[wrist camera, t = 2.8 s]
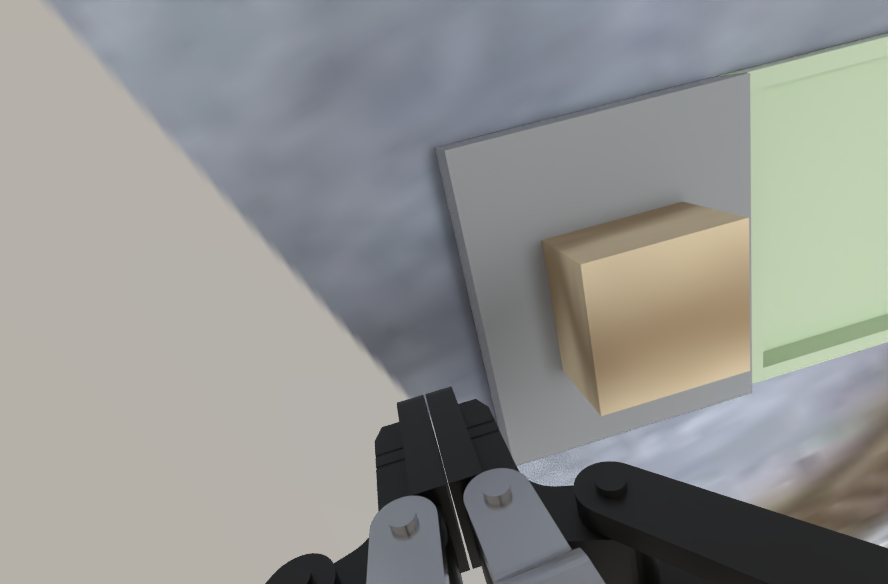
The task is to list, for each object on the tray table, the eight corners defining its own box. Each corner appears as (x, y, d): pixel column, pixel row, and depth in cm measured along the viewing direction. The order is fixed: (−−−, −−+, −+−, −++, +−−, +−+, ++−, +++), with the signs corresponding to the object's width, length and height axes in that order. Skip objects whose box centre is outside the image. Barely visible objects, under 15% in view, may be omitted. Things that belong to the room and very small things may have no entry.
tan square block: (541, 240, 16) (580, 264, 13) (682, 201, 17) (749, 217, 14) (563, 370, 18) (601, 416, 15) (690, 333, 18) (750, 370, 16)
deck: (434, 147, 17) (444, 150, 15) (707, 78, 17) (750, 73, 16) (500, 435, 21) (514, 466, 19) (718, 369, 22) (752, 392, 20)
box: (715, 76, 17) (747, 72, 16) (955, 15, 18) (1005, 6, 17) (724, 367, 22) (749, 384, 20) (918, 308, 22) (955, 320, 21)
